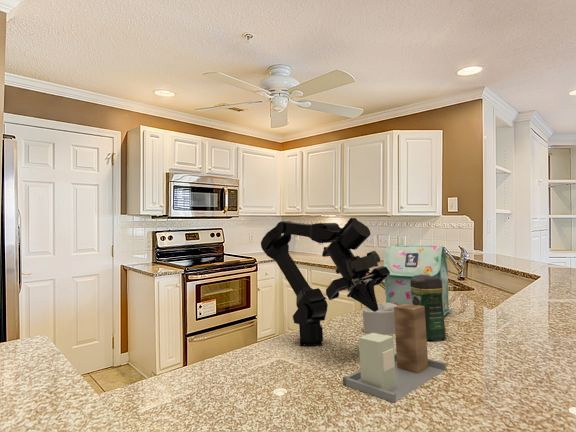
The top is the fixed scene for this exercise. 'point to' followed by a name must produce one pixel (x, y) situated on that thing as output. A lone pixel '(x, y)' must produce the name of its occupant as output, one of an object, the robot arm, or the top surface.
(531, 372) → the top surface
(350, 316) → the top surface
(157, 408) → the top surface
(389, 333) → the lumpy-topped squat cylinder
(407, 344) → the walnut box
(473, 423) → the top surface
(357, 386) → the parts tray
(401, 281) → the lunch bag
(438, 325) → the coffee jar
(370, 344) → the sage box
